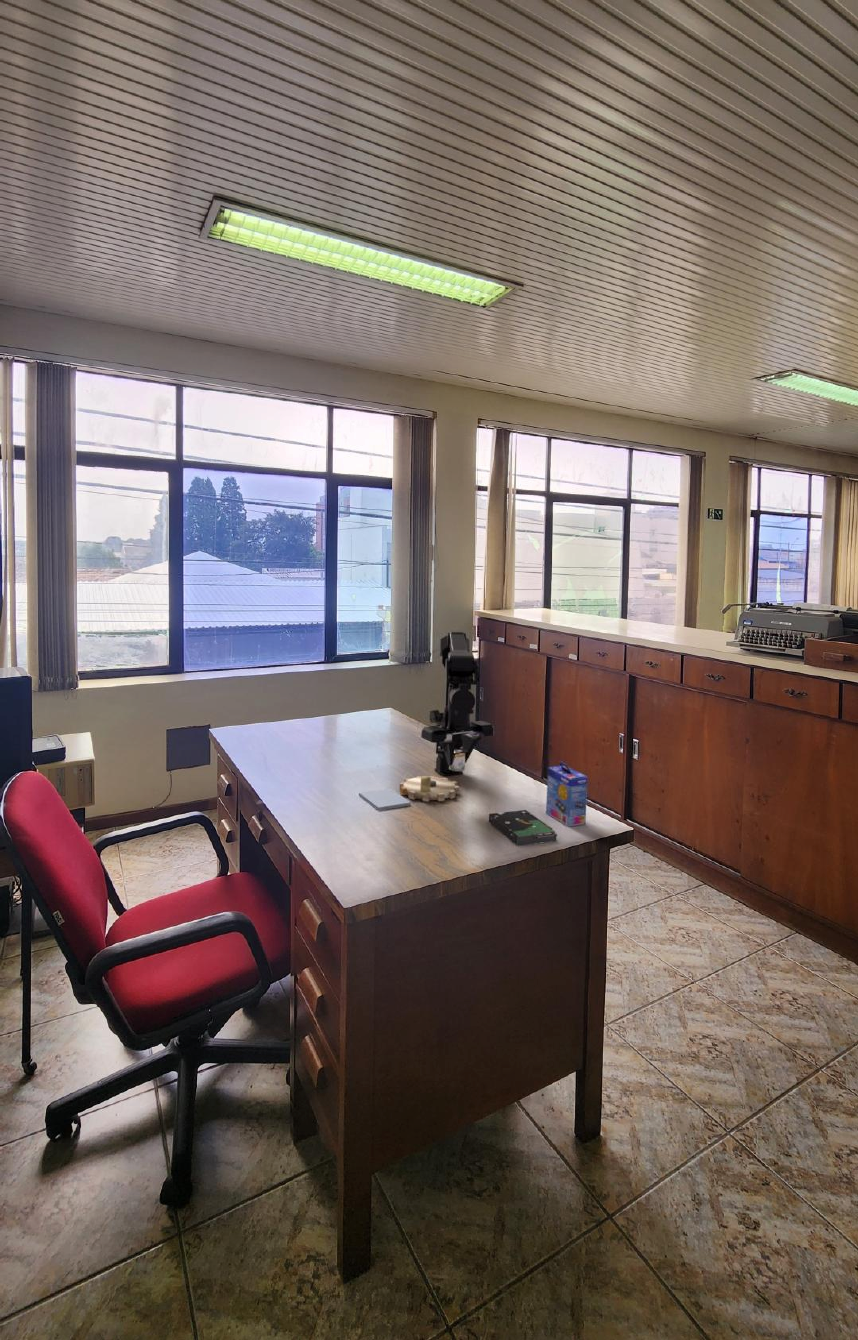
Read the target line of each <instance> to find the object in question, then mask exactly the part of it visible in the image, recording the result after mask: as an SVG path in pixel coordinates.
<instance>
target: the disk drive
mask: <svg viewBox="0 0 858 1340" xmlns="http://www.w3.org/2000/svg"><path fill="white" fill-rule="evenodd" d="M488 823H489V824H490V825H491V826H492V827H494V829H496V830H497V831H499V832H500V833H501V834H502V835H503V836H505V837H506V838H507V839H508V840H510V842H512V843H513V844H514V845H515V846H517V847H520V846H528V845H536V844H535V843H537V844H541V843H540V842H544V843H551V842H550V841H552V842H556V841H557V839H558V838H557V837H558V835H557V833H556V831H555V830H554V828H552V827H551V826H550V825H548V824H546V823H545V822H543V821H542V820H541V819H539V818H538V817H536V816H535V815H533V814H532V813H531V812H529V811H528V810H526V809H523V810H522V809H520V810H514V811H512V810H511V811H505V812H502V813H501V814H500V813H497V812H494V813H489V814H488Z"/></svg>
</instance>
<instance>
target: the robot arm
mask: <svg viewBox="0 0 858 1340" xmlns="http://www.w3.org/2000/svg"><path fill="white" fill-rule="evenodd" d="M466 635H467V634H466V632H464V631H454V630H453V631H451V630H450V631H448V632H447V634H446V635H445V636H443V637H441V639H440V640H439V646H438V647H439V648H438V653H439V654H438V656H439V657H441V658H440V661H441V664H442V665H443V667H444V670H445V688H444V689H445V693H444V712H440V711H439V709H435V710H431V711H429V722H430V724H435V725H430V726H424V727H423V728H422V730H421V736H420V737H421V739H423V740H426V741H428V742H430V743H432V744H433V743H434V744H435V745H434V750H435V754H437V757H436V759H435V768H434V772H437V773H438V774H441V775H442V776H444V777H449V776H454V775H463V774H464V770H463V771H452V770H450V769H449V765H450V766H451V765H452V762H453V756H454V750H463V751H465V752H466V755H465V764H466V763H467V762H468V761H469V758H470V756H471V754H472V752H473V751H474V749H475V747H476V746H477V745H478V743H479V742H480V741H482V740H483V738H482V737H481V736H480V733H481V734H482V735H483V737H491V736H494V735H495V727H494V726H493V724H492V723H489V722H487V721H484V720H477V721H471V714H472V715H473V714H474V707H475V705H476V698H475V695H474V693H473V690H472V686H478V682H480V665H479V663H478V660H477V659H475V656H474V654H473V653H472V652H470V651H471V649H470V648H471V647H470V644H471V643H470V639H469V638H468V637H467V636H466Z"/></svg>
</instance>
